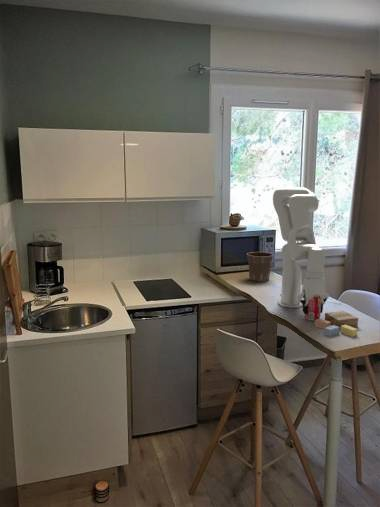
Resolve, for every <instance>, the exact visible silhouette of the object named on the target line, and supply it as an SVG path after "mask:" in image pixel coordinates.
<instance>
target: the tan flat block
mask: <svg viewBox="0 0 380 507" xmlns="http://www.w3.org/2000/svg"><path fill="white" fill-rule="evenodd" d="M324 320H326V321H330V322H331V326H332V325H335V326H338V327H340V328H339V330H341V326H342V325H348V326H351V327H353V328H358V324H359V317H356V316H355V315H353V314H351V313H349V312H347V311H345V310H340V311H332V312H325V313H324Z"/></svg>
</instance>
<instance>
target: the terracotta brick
mask: <svg viewBox="0 0 380 507" xmlns="http://www.w3.org/2000/svg"><path fill="white" fill-rule="evenodd" d="M329 326H332V325H331V322H330V321H326V320H325V319H321V318H320V319H316V320H315V321H314V327H316V328H320V329H324V328H325V327H329Z"/></svg>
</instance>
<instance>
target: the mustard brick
mask: <svg viewBox="0 0 380 507" xmlns="http://www.w3.org/2000/svg"><path fill="white" fill-rule="evenodd" d="M339 333H342V334H345V335H346V336H350V337H357V335H358V328H357V327H351V326H348V325H342V326H341V329H339Z"/></svg>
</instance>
